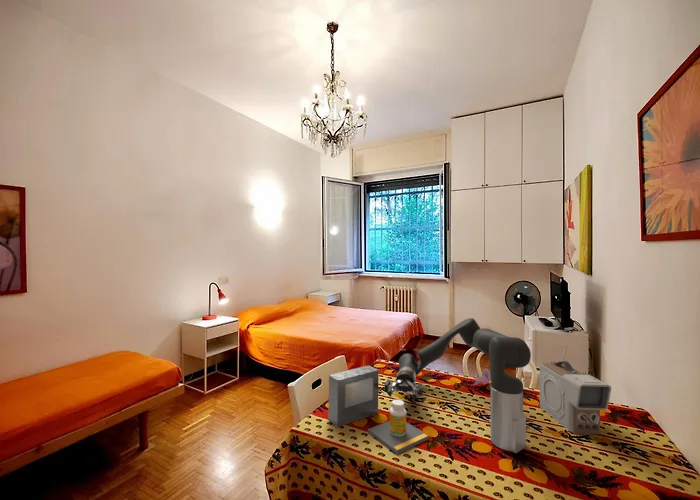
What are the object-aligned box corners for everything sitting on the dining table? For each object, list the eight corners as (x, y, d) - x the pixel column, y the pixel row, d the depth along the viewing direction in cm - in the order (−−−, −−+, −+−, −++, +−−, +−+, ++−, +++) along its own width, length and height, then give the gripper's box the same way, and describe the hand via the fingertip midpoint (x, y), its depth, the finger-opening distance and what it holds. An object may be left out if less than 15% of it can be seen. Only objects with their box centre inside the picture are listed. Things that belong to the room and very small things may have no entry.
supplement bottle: (393, 438, 100) (393, 407, 100) (386, 429, 106) (387, 399, 106) (409, 435, 102) (409, 405, 102) (401, 426, 107) (402, 397, 107)
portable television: (578, 440, 102) (578, 347, 102) (537, 405, 126) (537, 329, 126) (616, 441, 102) (616, 347, 102) (567, 405, 125) (567, 330, 126)
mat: (428, 439, 102) (428, 435, 102) (396, 454, 94) (396, 450, 94) (398, 420, 113) (398, 417, 113) (367, 432, 105) (367, 428, 105)
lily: (501, 388, 144) (491, 366, 148) (509, 387, 134) (498, 364, 138) (476, 395, 144) (467, 373, 149) (482, 396, 134) (472, 372, 138)
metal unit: (378, 413, 118) (379, 370, 118) (337, 428, 108) (338, 380, 108) (367, 405, 124) (367, 364, 124) (327, 419, 113) (328, 374, 114)
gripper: (423, 390, 128) (421, 408, 112) (388, 385, 132) (382, 403, 116) (423, 371, 128) (421, 387, 112) (388, 367, 132) (382, 382, 116)
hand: (401, 395), depth 114 cm, fingers open, 8 cm apart
